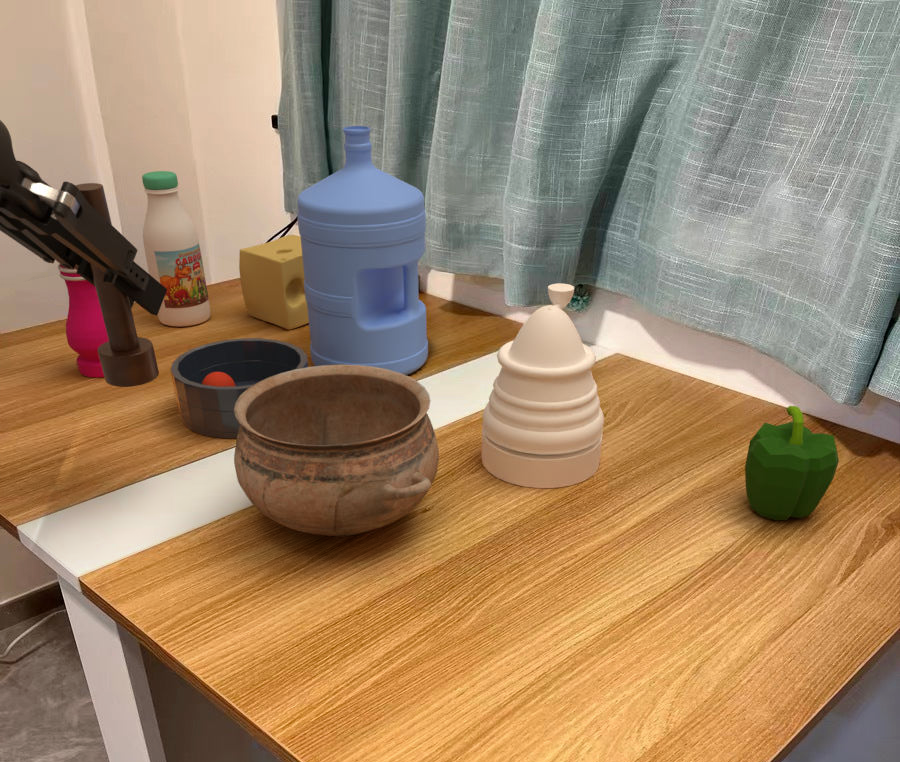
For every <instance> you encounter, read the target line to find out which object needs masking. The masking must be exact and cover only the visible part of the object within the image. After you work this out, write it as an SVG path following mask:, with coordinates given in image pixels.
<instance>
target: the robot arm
mask: <svg viewBox="0 0 900 762" xmlns="http://www.w3.org/2000/svg"><path fill="white" fill-rule="evenodd" d="M9 131H10V130H9V129H8V127H7V126H6V124H4V122H3V121H2V120H1V119H0V232H1V233H3V234H4V235H6V236H8V237H9V238H11V240H13V241H15V242H16V243H18V244H20V245H21V246H22V247H23V248H25V249H27V250H28V251H29V252H31V253H33V255H36V256H37V257H39V258H40V259H41V260H43V262H45V263H48V264H54V263H55V261H56V262H57V263H58V264H61V265H62V266H63V267H64V268H66V269H70V270H74V268H75V269H76V270H77V272H76V273H77V274H79V275H80V276H82V277H83V278H84V279H86V280H87V281H88V282H90V283H91V284H92V285H94V286H95V283H94V279H93V275H92V271H91V267H90V263H91V264H93V265H94V266H95V267H97V268H98V269H100V270H101V271H103V272H104V273H105V276H104V279H103V282H104V283H106V284H108V285H111V286H115V287H116V288H118V289H119V290H120V291H122V292H123V293H124V294H125V295H127V296H128V297H129V302H130V306H131V310H132V309H133V306H134V304H135V303H136V304H137V305H138V306H140V307H141V308H142V309H143V310H145V312H148V314H150V315H153V316H158V312H159V310H160V307H161V305H162V302H163V299H164V297H165V294H166V292H167V289H166V288H165V287H164V286H163V285H162V284H160V283H159V282H158V281H157V280H156V279H154V278H153V277H152V276H151V275H150V274H149V272H147V271H146V270H145V269H144V268H142V267H141V266H140V265H139V264H138V263H136V261H135V259H136V256H137V254H138V248H136V247H135V246H134V244H133V243H132V242H130V241H129V240H128V239H127V238H126V237H125V236H124V235H123V234H122V233H121V232H120V231H118V230H117V228H116V227H114V225H113V224H112V225H111V224H110V223H109V222H108V221H107V220H106V219H105V218H104V217H103V216H102V215H101V214H100V213H99V212H98V211H97V210H95V209H94V208H93V207H92V206H91V205H90V204H89V203H88V202H87V201H86V200H85V198H84V196H83V195H82V193H81V192H80V190H79V189H78V188H77V187H76V186H75V185H76V184H74V183H72V182H69V181H63V182H62V184H61V186H60V189H58V188H56V187H53V186H51V185H50V184H49V183H47V182H45V181H44V180H43V179H42V177H41V176H40V174H39V173H38V172H37V171H36V170H35V169H34V168H33V167H31V166H30V165H28V164H27V163H25V162H23V161H20V160H17V159H16V156H15V153H14V148H13V142H12V137H11V134H10V132H9ZM89 262H90V263H89Z"/></svg>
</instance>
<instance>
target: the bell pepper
mask: <svg viewBox="0 0 900 762" xmlns="http://www.w3.org/2000/svg"><path fill="white" fill-rule="evenodd" d="M785 411H786V413H787V415H788V416H790V417H791V418H792V421H790V422H785V423H782V424H778V425H775V424H772V423H769V422H764V423H763V424H762V425H761V426H760V428H759V429H758V430H757V432H755V434H754V435H753V437H752V438H751V439H750V441H749V444H748V449H747V453H746V460H745V464H744V475H745V476H744V477H745V478H744V479H745V481H744V482H745V491H746V497H747V501H748V503H749V506H750V508H751V510H752V511H754V512H755V513H756V514H758V516H761V517H762V518H766V519H769V520H773V521H787V520H788V519H789V518H790V517H792V518H796V519H799V518H800V519H801V518H807V517H809V516H810V515H811V514H812V513H814V511H815V510H816V508H817V507H818V505H819V503H820V502H821V501H822V499H823V497H824V496H825V494H826V492H827V491H828V489H829V487H830V486H831V483H832V482H833V480H834V478H835V475H836V471H837V468H838V465H839V461H840V460H839V454H838V448H837V445H836V439H835V436H834V435H833V434H827V433H822V432H819V433H818V432H817V433H814V432H812V431H811V429H810V428H808V427H807V426H805V419H804V414H803V412H802V410H801V408H800V407H798V406H796V405H789V406H788V407H787V408H786V410H785Z"/></svg>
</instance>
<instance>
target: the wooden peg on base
mask: <svg viewBox="0 0 900 762" xmlns="http://www.w3.org/2000/svg"><path fill="white" fill-rule="evenodd" d="M74 185H75V186H76V187H77V188H78V189H79V190H80V192H81V193H82V195H83V196H84V198H85V200H86V201H87V202H88V203H89V204H90V205H91V206H92V207H93V208H94V209H95V210H97V211H98V212H99V213H100V214H101V215H102V216H103V217H104V218H105V219H106V220H107V221H108V222H109V223H110V224H111V225H112V226H113V224H112V220H111V219H112V218H111V215H110V209H109V206H108V202H107V198H106V192H105V189H104V186H103V184H101V183H99V182H98V183H97V182H88V183H87V182H85V183H79V184H74ZM89 263H90V262H89ZM90 267H91V271H92V275H93V279H94V283H95V287H96V291H97V295H98V299H99V303H100V307H101V311H102V315H103V319H104V323H105V327H106V331H107V335H108V339H109V341H108V342H106V343H104V344H102V345H101V346H99V348H98V354H99V358H100V362H101V366H102V370H103V373H104V377H103V378H104V380H105V382H106V383H107V384H108V385H110V386H113V387H119V388H130V387H131V388H132V387H138V386H142V385H145V384H149V383H151V382H153V381H154V380H156V379H157V378H158V376H159V375H160V371H159V367H158V362H157V357H156V353H155V349H154V343H153V342H152V340H150V339H149V338H145V337H140V336H138V332H137V327H136V324H135V320H134V319H135V318H134V315H133V310H132V309H131V306H130V302H129V297H128V296H127V295H125V294H124V293H123V292H122V291H120V290H119V289H118V288H116V287H115V286H111V285H108V284H106V283H104V282H103V279H104V276H105V273H104V272H103V271H101V270H100V269H98V268H97V267H95V266H94V265H93V264H91V263H90Z"/></svg>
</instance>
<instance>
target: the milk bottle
mask: <svg viewBox="0 0 900 762" xmlns="http://www.w3.org/2000/svg"><path fill="white" fill-rule="evenodd" d="M141 180H142V185H143V188H144V193H146V196H147V197H146V198H147V206H146V213H145V214H146V215H145V218H144V222H143V228H142V239H143V248H144V254H145V261H146V265H147V271H148V274H150V275H151V276H152V277H153V278H154V279H156V280H157V281H158V282H159V283H160V284H162V285H163V286H164V287H165V288H166V289H167V292H166V294H165V297H164V299H163V302H162V305H161V307H160V310H159V312H158V315H157V319H158V320H159V322H160V324H163V325H165V326H169V327H190V326H195V325H199V324H203V323H205V322H206V321H208V320H209V319H210V317H211V313H212V312H211V305H210V299H209V293H208V287H207V286H208V285H207V281H206V275H205V268H204V263H203V257H202V251H201V247H200V246H201V245H200V242H199V237H198V234H197V233H198V232H197V230H196V228H195V225H194V223H193V221H192V220H191V218H190V217H189V214H188V213H187V212H186V210H185V208H184V206H183V204H182V201H181V199H180V197H179V190H180V188H179V181H178V176H177V174H176V173H175V172H174V171H169V170H156V171H148V172H145V173H143V174H142V176H141Z"/></svg>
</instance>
